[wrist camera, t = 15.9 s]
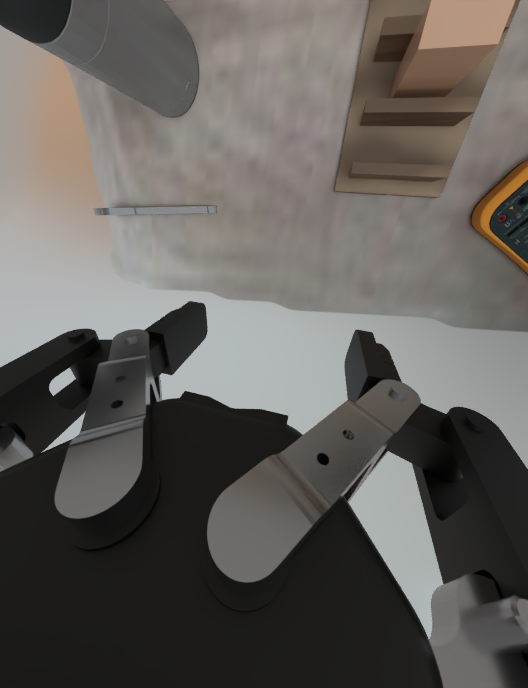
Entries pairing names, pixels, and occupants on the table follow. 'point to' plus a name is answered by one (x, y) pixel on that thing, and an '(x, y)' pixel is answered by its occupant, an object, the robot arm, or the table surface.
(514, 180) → the multimeter
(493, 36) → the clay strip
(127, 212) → the caliper
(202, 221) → the table surface
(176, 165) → the table surface
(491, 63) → the ridged wooden board
